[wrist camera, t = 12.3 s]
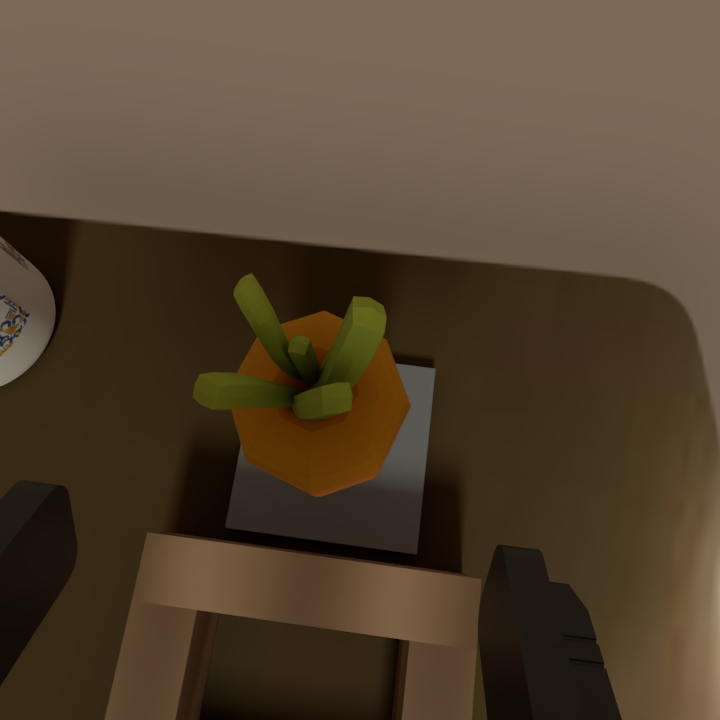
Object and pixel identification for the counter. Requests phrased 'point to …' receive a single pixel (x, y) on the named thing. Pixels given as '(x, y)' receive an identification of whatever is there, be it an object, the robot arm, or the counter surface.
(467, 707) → the holder
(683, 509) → the counter surface
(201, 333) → the counter surface
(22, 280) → the bath foam
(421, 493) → the plate
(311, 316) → the carrot
